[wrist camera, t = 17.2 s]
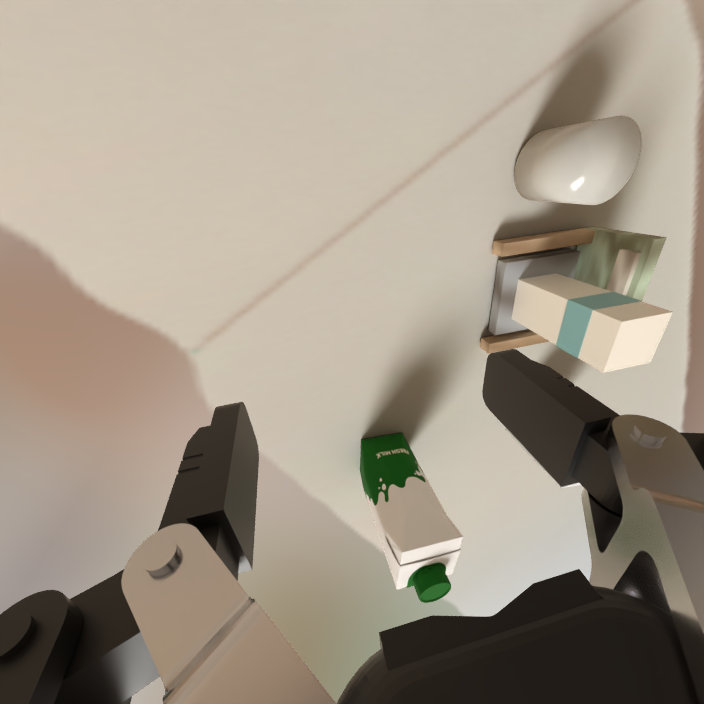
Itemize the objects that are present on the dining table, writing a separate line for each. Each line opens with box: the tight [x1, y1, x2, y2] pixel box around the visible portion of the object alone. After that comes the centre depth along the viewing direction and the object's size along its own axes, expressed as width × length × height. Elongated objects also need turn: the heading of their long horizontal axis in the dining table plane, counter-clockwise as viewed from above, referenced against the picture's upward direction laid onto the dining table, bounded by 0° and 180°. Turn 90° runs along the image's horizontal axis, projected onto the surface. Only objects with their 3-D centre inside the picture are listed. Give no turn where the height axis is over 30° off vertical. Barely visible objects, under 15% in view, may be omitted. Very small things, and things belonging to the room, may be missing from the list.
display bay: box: [480, 227, 666, 353], centre depth 40 cm, size 15×14×9 cm
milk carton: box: [360, 433, 463, 603], centre depth 44 cm, size 9×9×20 cm
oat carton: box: [511, 273, 673, 373], centre depth 36 cm, size 6×6×14 cm
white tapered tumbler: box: [514, 116, 641, 205], centre depth 32 cm, size 7×7×8 cm
